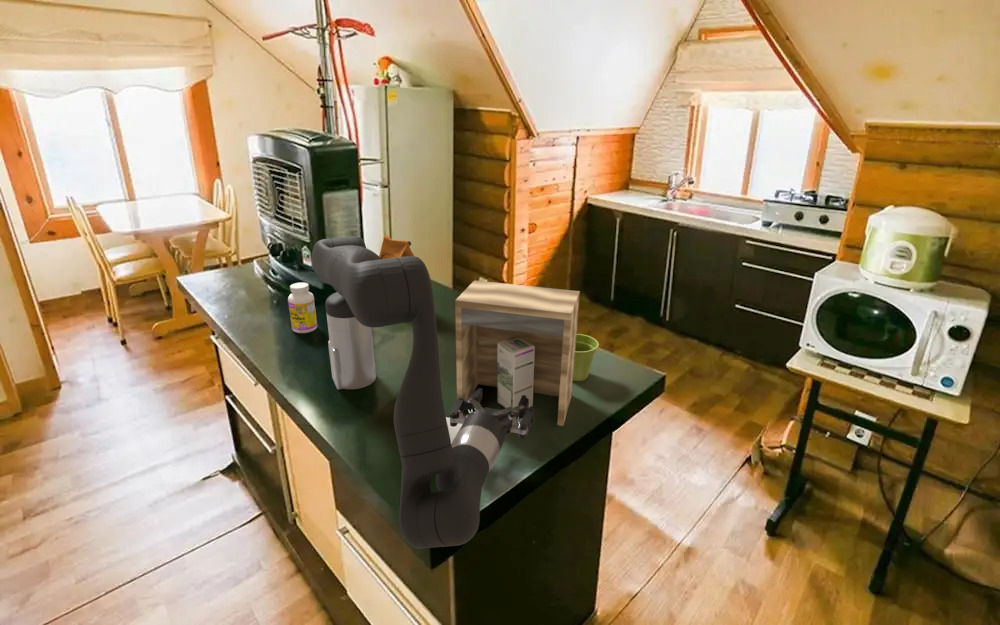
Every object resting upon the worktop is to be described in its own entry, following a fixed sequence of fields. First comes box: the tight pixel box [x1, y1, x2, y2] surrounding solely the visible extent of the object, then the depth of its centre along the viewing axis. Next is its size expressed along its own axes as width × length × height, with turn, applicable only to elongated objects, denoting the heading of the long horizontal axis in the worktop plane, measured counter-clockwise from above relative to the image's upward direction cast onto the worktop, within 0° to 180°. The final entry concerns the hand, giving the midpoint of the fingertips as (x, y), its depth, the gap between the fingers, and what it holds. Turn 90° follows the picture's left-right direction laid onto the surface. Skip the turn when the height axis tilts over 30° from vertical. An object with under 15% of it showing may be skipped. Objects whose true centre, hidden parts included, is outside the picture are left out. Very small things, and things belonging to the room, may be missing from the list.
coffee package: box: [378, 234, 415, 259], centre depth 159 cm, size 10×12×22 cm
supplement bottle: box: [287, 282, 318, 334], centre depth 146 cm, size 7×7×13 cm
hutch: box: [454, 280, 581, 427], centre depth 111 cm, size 12×22×24 cm, turn 75°
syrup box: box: [496, 337, 535, 409], centre depth 112 cm, size 6×6×14 cm
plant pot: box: [573, 333, 600, 382], centre depth 125 cm, size 9×9×9 cm
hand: (502, 396), depth 101 cm, fingers open, 8 cm apart
